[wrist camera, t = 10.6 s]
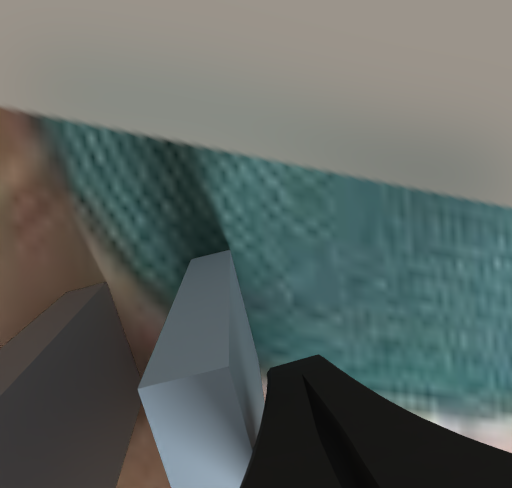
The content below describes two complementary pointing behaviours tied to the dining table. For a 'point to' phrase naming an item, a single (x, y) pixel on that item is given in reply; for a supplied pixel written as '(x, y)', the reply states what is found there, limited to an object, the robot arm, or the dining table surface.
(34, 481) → the domino
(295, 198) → the dining table surface
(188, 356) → the slate domino
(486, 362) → the dining table surface
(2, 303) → the dining table surface
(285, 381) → the robot arm
